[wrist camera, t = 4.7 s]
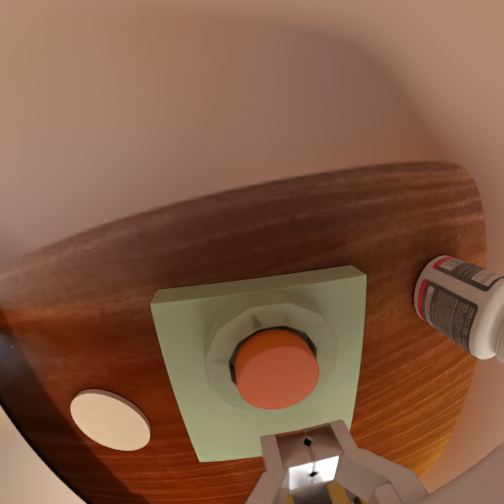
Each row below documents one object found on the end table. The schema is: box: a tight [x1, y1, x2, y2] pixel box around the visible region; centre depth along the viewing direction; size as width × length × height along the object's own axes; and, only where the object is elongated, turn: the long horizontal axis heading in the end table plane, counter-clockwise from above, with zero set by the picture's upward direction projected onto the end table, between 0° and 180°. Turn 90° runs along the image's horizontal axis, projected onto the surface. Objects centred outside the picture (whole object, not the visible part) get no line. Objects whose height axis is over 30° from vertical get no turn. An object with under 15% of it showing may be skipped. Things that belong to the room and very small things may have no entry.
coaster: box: [71, 389, 151, 451], centre depth 18 cm, size 7×7×1 cm
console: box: [150, 265, 367, 462], centre depth 17 cm, size 14×12×4 cm
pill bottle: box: [414, 255, 504, 363], centre depth 14 cm, size 5×5×10 cm
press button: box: [234, 329, 319, 410], centre depth 13 cm, size 4×4×2 cm
